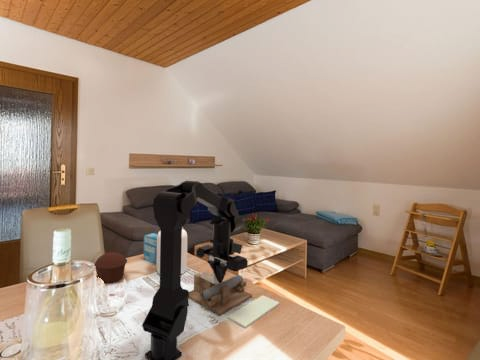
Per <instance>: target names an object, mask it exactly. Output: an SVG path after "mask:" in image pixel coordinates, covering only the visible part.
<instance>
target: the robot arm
mask: <svg viewBox="0 0 480 360" xmlns="http://www.w3.org/2000/svg"><path fill="white" fill-rule="evenodd" d="M152 201H153V202H152V207H153V218H154V220H155V221H156V223H157V225H158V227H159V231H161V239H160V274H159V288H158V289H157V291H156V292H155V294H154V295H153V297H152V304H151V307H150V308H149V310H148V313H147V314H146V316H145V318H144V320H143V322H142V325H141V327H142V330H143V331H144V332H147V333H149V334H150V350H149V351H147V352H145V354H144V356H145V358H147V360H176V359H178V358H180V357H181V356H182V355H183V354H182V351H181V350H179V348H178V347H177V346H178V337H179V336H180V335H181V334H183V333H184V331H185V326H186V323H187V322H186V321H187V317H188V312H189V309H188V307H189V306H190V304H189V292H190V291H189V290H188V289H185V288H183V287H182V283H181V282H182V281H181V280H182V274H181V244H182V228H183V229H184V226H185V224H186V223H187V221H188V219H189V216H190V211H191V210H192V209H193V208H194V207H195V206H196V205H197V202H198V203H200V204H203V205H204V206H205V207H207V210H208V212H209V213H210V214H212V215H215V216H214V217H213V218H212V220H211V221H210V222H209V224H210V225H212V238H210V239H209V242H210V243H211V244H212V245H210V244H207V245H206V244H205V245H204V246H200V247H198V248H197V250H196V257H198V258H200V259H202V258H204V257H205V255H207V256H208V257H209V259H208V260H207V261H206V262H207V264H209V266H210V269H212V273H214V274H215V276H216V278H217V281H218V282H219V283H221V282H222V281H224V278H225V276H226V272H227V271H228V270H230V271H232V272H239V271H242V270H243V269H246V268H248V265H249V263H248V262H249V261H248V258H246V257H244V256H241V252H242V249H243V244H240V243H236V242H234V239H233V238H231V233H233V232H235V231H238V230H239V229H241V228H242V227H243V224H244V221H243V217H242V216H241V215H239V211H238V210H237V207H236V204H235V201H234V199H232V198H229V197H224V196H219V195H218V194H217V193H215V192H214V191H212V190H210V189H209V188H208V187H205V186H204V185H203V183H202V182H199V181H198V180H197V181H196V180H185V181H182V182H180V184H177V185H174V186H172V187H169V188H166V189H165V190H163V191H159V192H158V193H157V194H156V196H155V197H153V200H152ZM235 253H236V254H238V255H235ZM234 255H235V256H234Z"/></svg>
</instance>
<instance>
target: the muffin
mask: <svg viewBox="0 0 480 360" xmlns="http://www.w3.org/2000/svg"><path fill="white" fill-rule="evenodd" d="M127 262H128V259H127V258H126V256H125V255H123V254H121V253H120V252H115V251H113V252H112V251H111V252H110V251H109V252H106V253H103V254H102V255H100V256H99V257H98V258H97V259H96V261H95V263H94V267H95V266H96V267H95V271H96V276H97V277H96V278H98V277H99V278H101V279H102V280H103V281H104V283H105V284H107V285H110V284H114V283H119V282H120V281H121V280H123V279H124V274H125V267H126V264H127ZM105 284H104V285H105Z"/></svg>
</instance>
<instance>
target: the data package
mask: <svg viewBox="0 0 480 360" xmlns="http://www.w3.org/2000/svg"><path fill="white" fill-rule="evenodd" d="M157 235H158V233H153V232H152V233H149V234H145V235H144V236H143V259H144V260H145V261H146V262H150V263H153V264H156V265H157Z"/></svg>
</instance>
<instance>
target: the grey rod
mask: <svg viewBox="0 0 480 360" xmlns="http://www.w3.org/2000/svg"><path fill="white" fill-rule="evenodd" d="M229 278H230V279H229ZM229 278H228V279H226V280H223V282H221V283H219V284H217V285H215V286H212V287H210V288H208V289H206V290H205V291H204V292H203V297H204V298H205V299H206V300H209V299H211V297H213V296H215V295H219V294H221V288H222V287H224V286H228V287H229V289H231V288H233V287H235V286H237V285H239V284H240V283H241V282H243V281H244V277H243V275H241V274H237V275H234V276H232V277H229Z"/></svg>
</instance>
